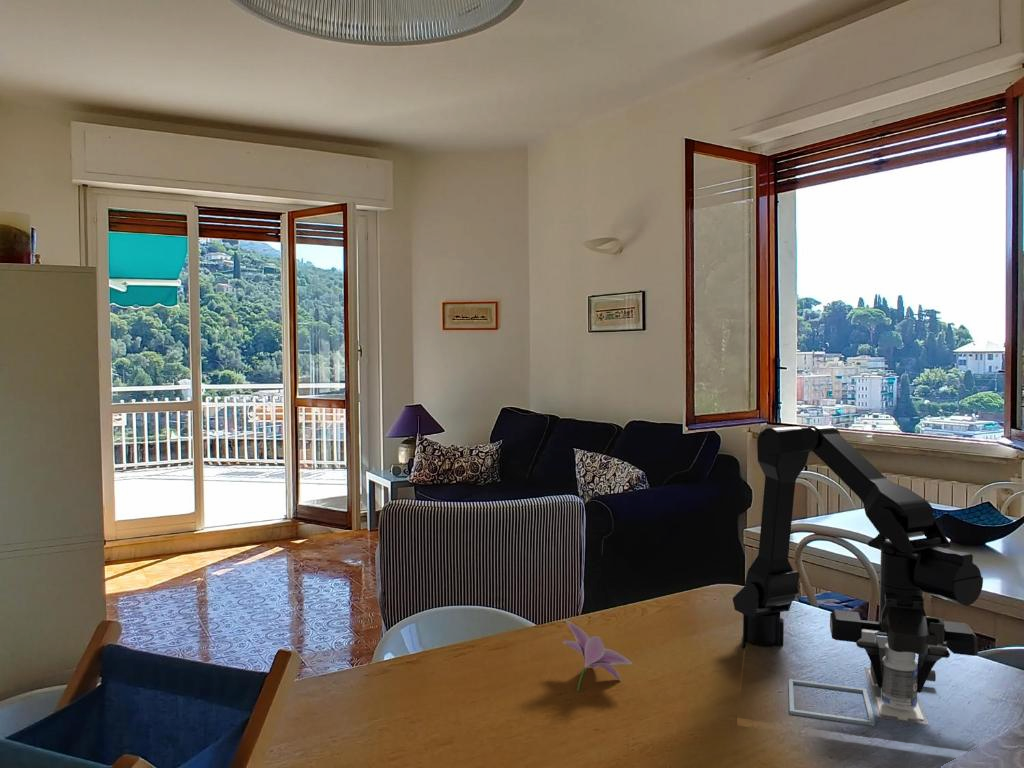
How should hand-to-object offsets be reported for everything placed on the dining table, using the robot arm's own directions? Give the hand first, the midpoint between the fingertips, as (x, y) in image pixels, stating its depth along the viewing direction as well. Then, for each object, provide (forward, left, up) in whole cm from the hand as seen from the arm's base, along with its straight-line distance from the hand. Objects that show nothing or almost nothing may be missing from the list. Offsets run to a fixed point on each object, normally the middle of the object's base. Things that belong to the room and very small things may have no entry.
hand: (898, 689), depth 113 cm
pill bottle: (0, 0, -2) cm, 2 cm away
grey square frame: (-9, -1, -4) cm, 10 cm away
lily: (-44, -3, -4) cm, 45 cm away
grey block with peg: (+2, +10, -3) cm, 11 cm away
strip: (0, +5, -4) cm, 6 cm away
